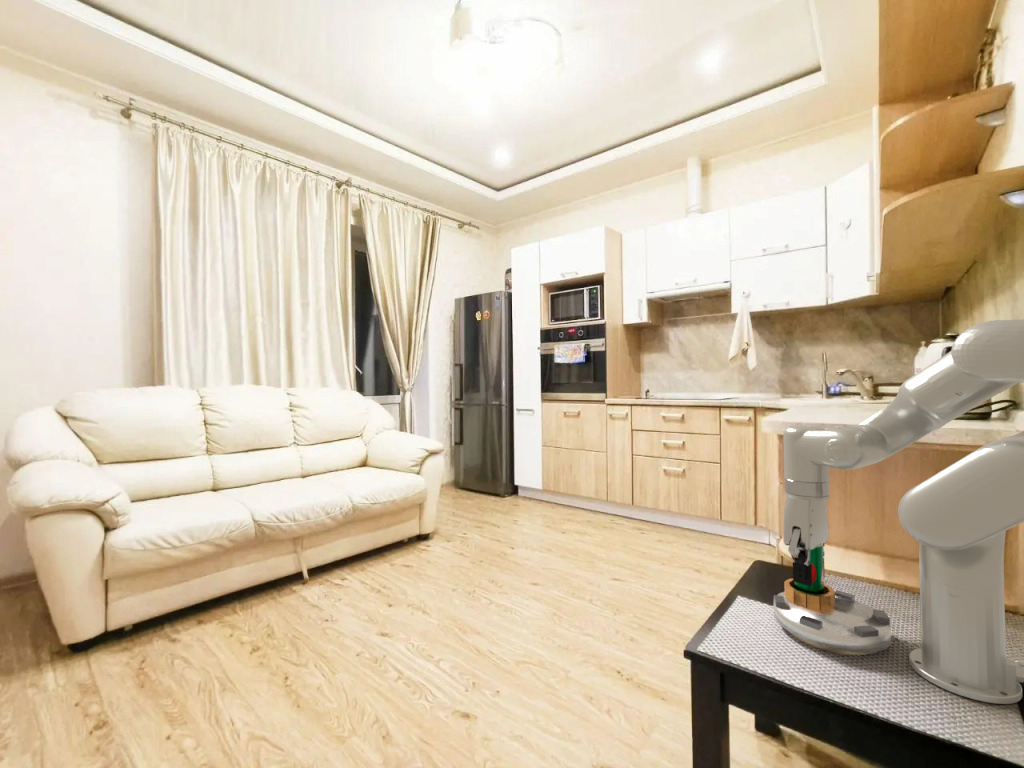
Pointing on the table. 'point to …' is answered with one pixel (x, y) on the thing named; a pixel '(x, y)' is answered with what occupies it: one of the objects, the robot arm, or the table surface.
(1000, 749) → the table surface
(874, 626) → the oval platform with pads
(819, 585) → the soda can
